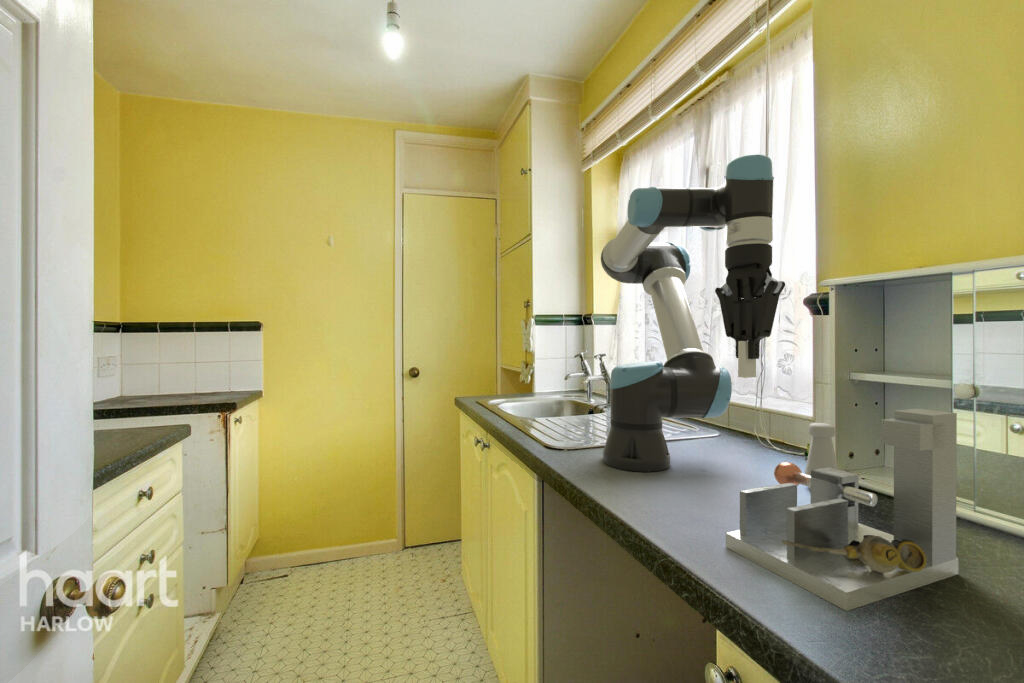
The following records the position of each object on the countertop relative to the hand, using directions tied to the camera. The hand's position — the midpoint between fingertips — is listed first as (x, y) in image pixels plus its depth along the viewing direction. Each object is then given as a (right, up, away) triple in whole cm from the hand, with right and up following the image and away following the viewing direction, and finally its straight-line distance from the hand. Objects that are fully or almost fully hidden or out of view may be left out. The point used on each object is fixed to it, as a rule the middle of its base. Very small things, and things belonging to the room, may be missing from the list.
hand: (747, 377), depth 81 cm
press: (0, -22, -22) cm, 31 cm away
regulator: (-9, -19, -25) cm, 33 cm away
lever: (+5, -17, -12) cm, 22 cm away
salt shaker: (+17, -23, +5) cm, 29 cm away
